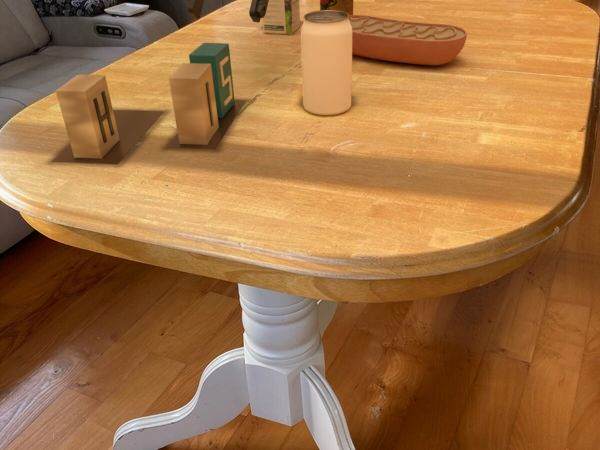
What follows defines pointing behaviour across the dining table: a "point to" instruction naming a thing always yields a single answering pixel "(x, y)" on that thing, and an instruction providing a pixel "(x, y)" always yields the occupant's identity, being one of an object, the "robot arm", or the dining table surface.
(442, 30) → the orange elongated oval dish
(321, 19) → the can
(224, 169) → the dining table surface
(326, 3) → the condiment
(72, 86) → the block
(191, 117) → the slotted tan block
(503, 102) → the dining table surface
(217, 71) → the green alphabet block
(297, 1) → the syrup box
